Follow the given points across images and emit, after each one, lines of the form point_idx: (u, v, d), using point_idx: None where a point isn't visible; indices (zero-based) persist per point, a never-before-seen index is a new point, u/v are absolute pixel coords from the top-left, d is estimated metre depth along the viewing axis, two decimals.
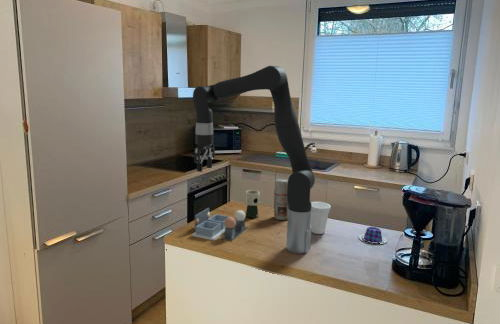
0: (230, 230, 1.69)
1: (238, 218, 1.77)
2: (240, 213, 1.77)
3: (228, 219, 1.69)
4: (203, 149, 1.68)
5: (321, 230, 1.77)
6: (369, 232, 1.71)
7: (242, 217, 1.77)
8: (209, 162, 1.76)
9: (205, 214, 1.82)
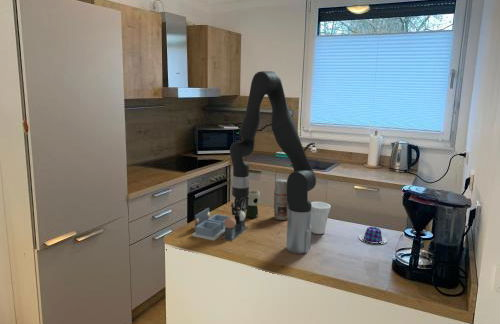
0: (230, 230, 1.69)
1: None
2: (240, 213, 1.77)
3: (228, 219, 1.69)
4: (239, 202, 1.75)
5: (321, 230, 1.77)
6: (369, 232, 1.72)
7: (242, 217, 1.77)
8: None
9: (205, 214, 1.82)
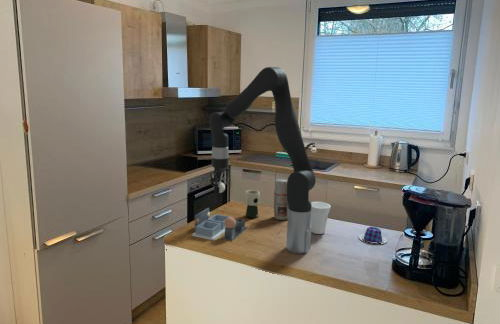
0: (230, 230, 1.69)
1: None
2: (220, 184, 1.78)
3: (228, 219, 1.69)
4: (219, 173, 1.75)
5: (321, 230, 1.77)
6: (368, 232, 1.72)
7: (221, 188, 1.78)
8: None
9: (205, 214, 1.82)
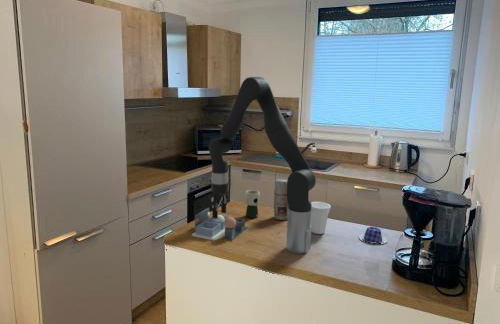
0: (230, 230, 1.69)
1: None
2: (219, 217, 1.81)
3: (228, 219, 1.69)
4: (218, 197, 1.78)
5: (321, 230, 1.77)
6: (368, 232, 1.72)
7: (221, 221, 1.81)
8: (223, 207, 1.86)
9: (205, 214, 1.82)
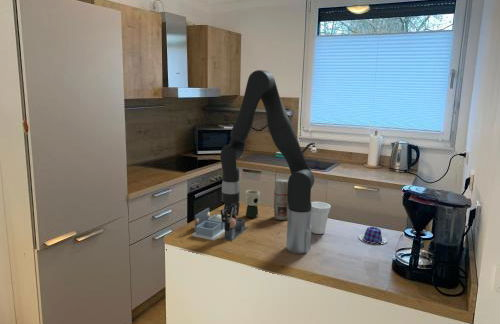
0: (230, 230, 1.69)
1: None
2: (219, 217, 1.81)
3: None
4: (229, 209, 1.66)
5: (321, 230, 1.77)
6: (368, 231, 1.72)
7: (221, 221, 1.81)
8: None
9: (205, 214, 1.82)
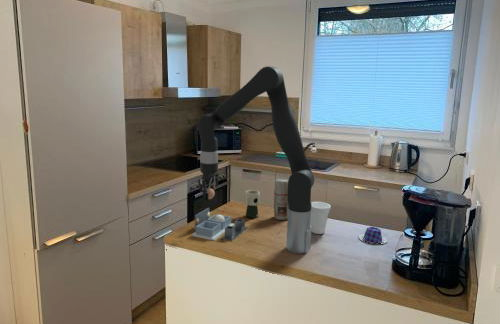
0: (230, 230, 1.69)
1: None
2: (219, 217, 1.81)
3: None
4: (207, 179, 1.66)
5: (321, 230, 1.77)
6: (367, 231, 1.72)
7: (221, 221, 1.81)
8: None
9: (205, 214, 1.82)
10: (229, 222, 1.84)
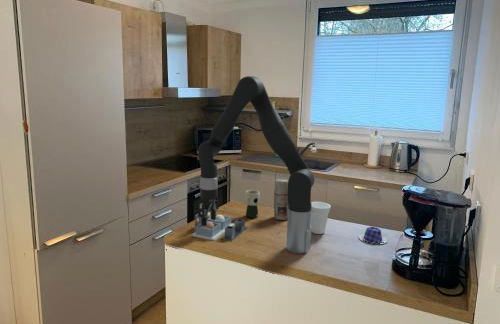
0: (230, 230, 1.69)
1: None
2: (219, 217, 1.81)
3: None
4: (207, 203, 1.69)
5: (321, 230, 1.77)
6: (367, 231, 1.72)
7: (221, 221, 1.81)
8: (213, 214, 1.76)
9: None
10: (229, 222, 1.84)
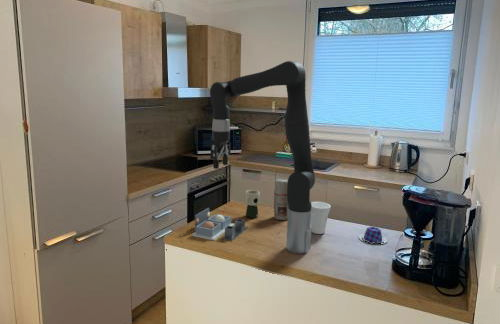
0: (230, 230, 1.69)
1: None
2: (219, 217, 1.81)
3: (206, 224, 1.72)
4: (220, 146, 1.67)
5: (321, 230, 1.77)
6: (367, 231, 1.73)
7: (221, 221, 1.81)
8: (225, 159, 1.75)
9: (205, 214, 1.82)
10: (229, 222, 1.84)
